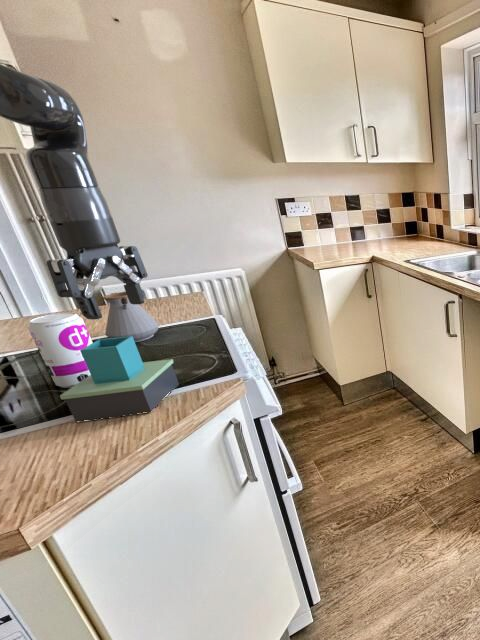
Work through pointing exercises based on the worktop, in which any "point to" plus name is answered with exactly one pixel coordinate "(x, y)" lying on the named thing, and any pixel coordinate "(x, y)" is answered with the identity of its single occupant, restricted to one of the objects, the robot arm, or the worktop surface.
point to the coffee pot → (128, 319)
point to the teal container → (112, 359)
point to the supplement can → (62, 346)
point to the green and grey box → (122, 393)
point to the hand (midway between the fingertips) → (117, 310)
